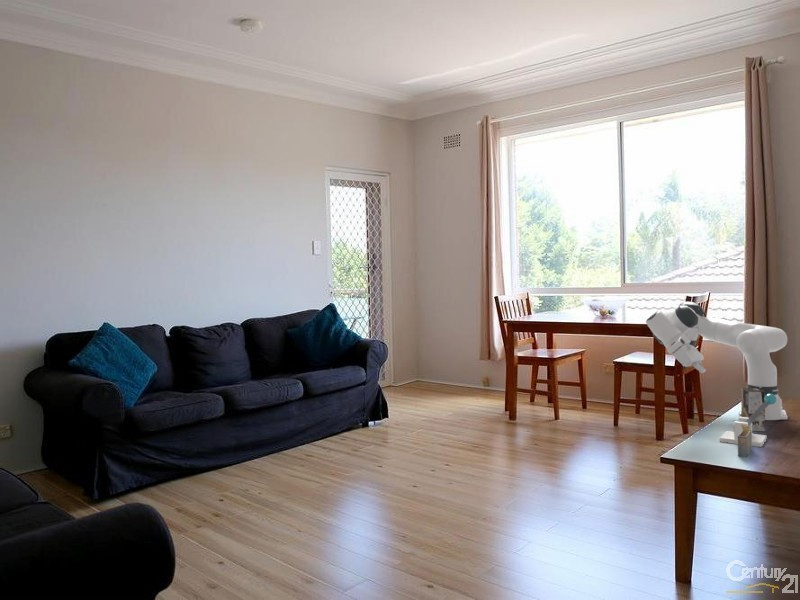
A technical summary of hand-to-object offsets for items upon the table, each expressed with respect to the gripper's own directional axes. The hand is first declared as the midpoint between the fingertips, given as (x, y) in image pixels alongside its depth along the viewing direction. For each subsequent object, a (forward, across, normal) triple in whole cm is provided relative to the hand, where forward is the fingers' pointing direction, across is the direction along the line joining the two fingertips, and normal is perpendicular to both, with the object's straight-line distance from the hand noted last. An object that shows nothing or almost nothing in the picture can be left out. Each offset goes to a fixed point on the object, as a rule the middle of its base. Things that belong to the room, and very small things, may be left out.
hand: (704, 371), depth 254 cm
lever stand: (+28, -1, -7) cm, 29 cm away
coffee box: (+27, -22, -6) cm, 35 cm away
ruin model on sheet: (+32, +16, -5) cm, 36 cm away
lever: (+25, 0, -5) cm, 25 cm away
